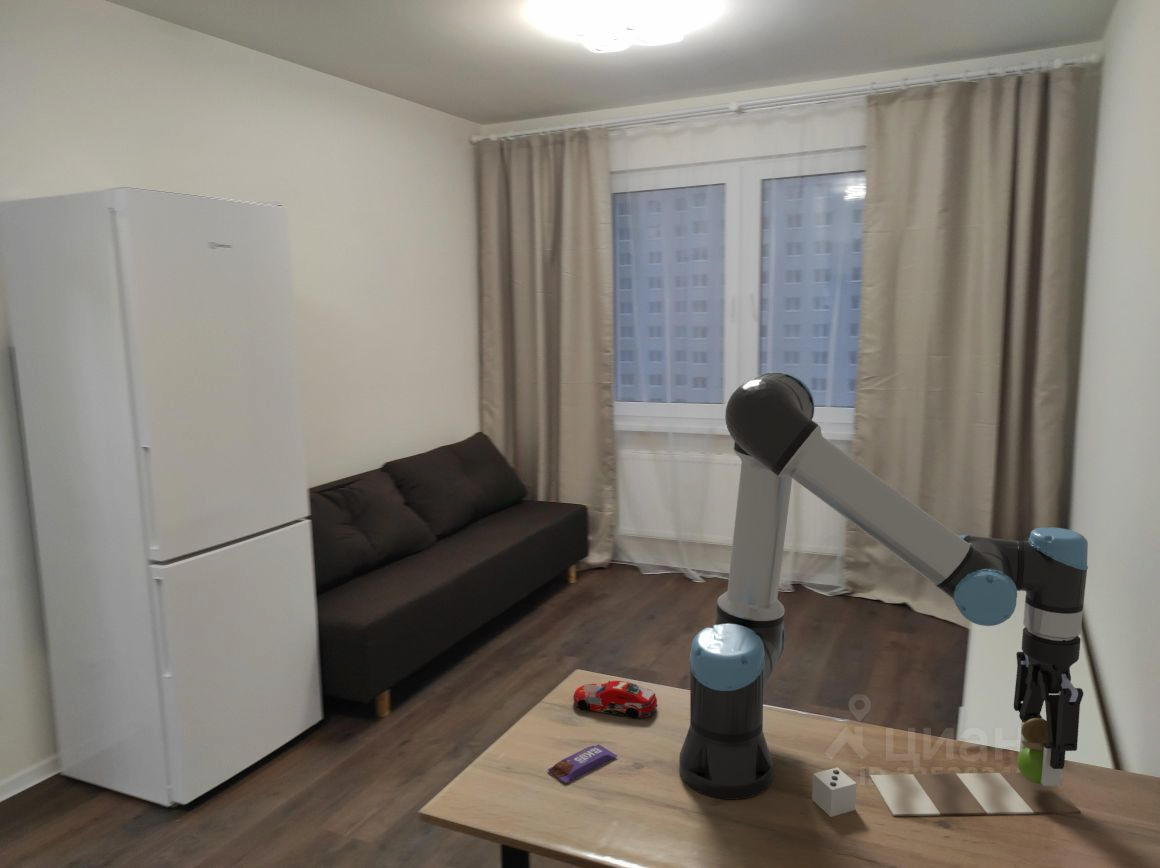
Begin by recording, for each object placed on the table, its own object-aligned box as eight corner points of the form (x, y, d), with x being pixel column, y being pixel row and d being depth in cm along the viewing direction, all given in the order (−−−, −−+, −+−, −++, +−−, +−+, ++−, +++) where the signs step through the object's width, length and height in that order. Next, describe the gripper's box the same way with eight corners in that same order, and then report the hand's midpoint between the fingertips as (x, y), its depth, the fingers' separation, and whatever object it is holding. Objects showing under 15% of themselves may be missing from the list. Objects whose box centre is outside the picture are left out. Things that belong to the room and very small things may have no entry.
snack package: (598, 739, 140) (618, 750, 136) (598, 749, 141) (618, 761, 137) (546, 764, 133) (565, 777, 129) (546, 775, 133) (565, 788, 129)
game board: (893, 816, 120) (893, 814, 120) (869, 776, 130) (869, 775, 130) (1080, 812, 120) (1080, 811, 120) (1042, 773, 130) (1042, 772, 130)
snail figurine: (1068, 793, 121) (1075, 720, 119) (1022, 789, 123) (1028, 716, 121) (1055, 773, 127) (1061, 702, 125) (1011, 769, 128) (1016, 699, 126)
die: (830, 817, 120) (831, 789, 120) (812, 800, 125) (813, 772, 124) (855, 810, 122) (856, 782, 121) (836, 793, 126) (837, 766, 125)
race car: (568, 710, 154) (567, 686, 153) (580, 694, 160) (580, 670, 159) (650, 724, 148) (650, 699, 147) (660, 707, 154) (659, 682, 153)
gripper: (1117, 657, 111) (1102, 809, 115) (1041, 607, 130) (1031, 739, 134) (1063, 658, 112) (1049, 810, 115) (995, 608, 130) (985, 740, 134)
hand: (1039, 772), depth 124 cm, fingers closed on snail figurine, 5 cm apart
